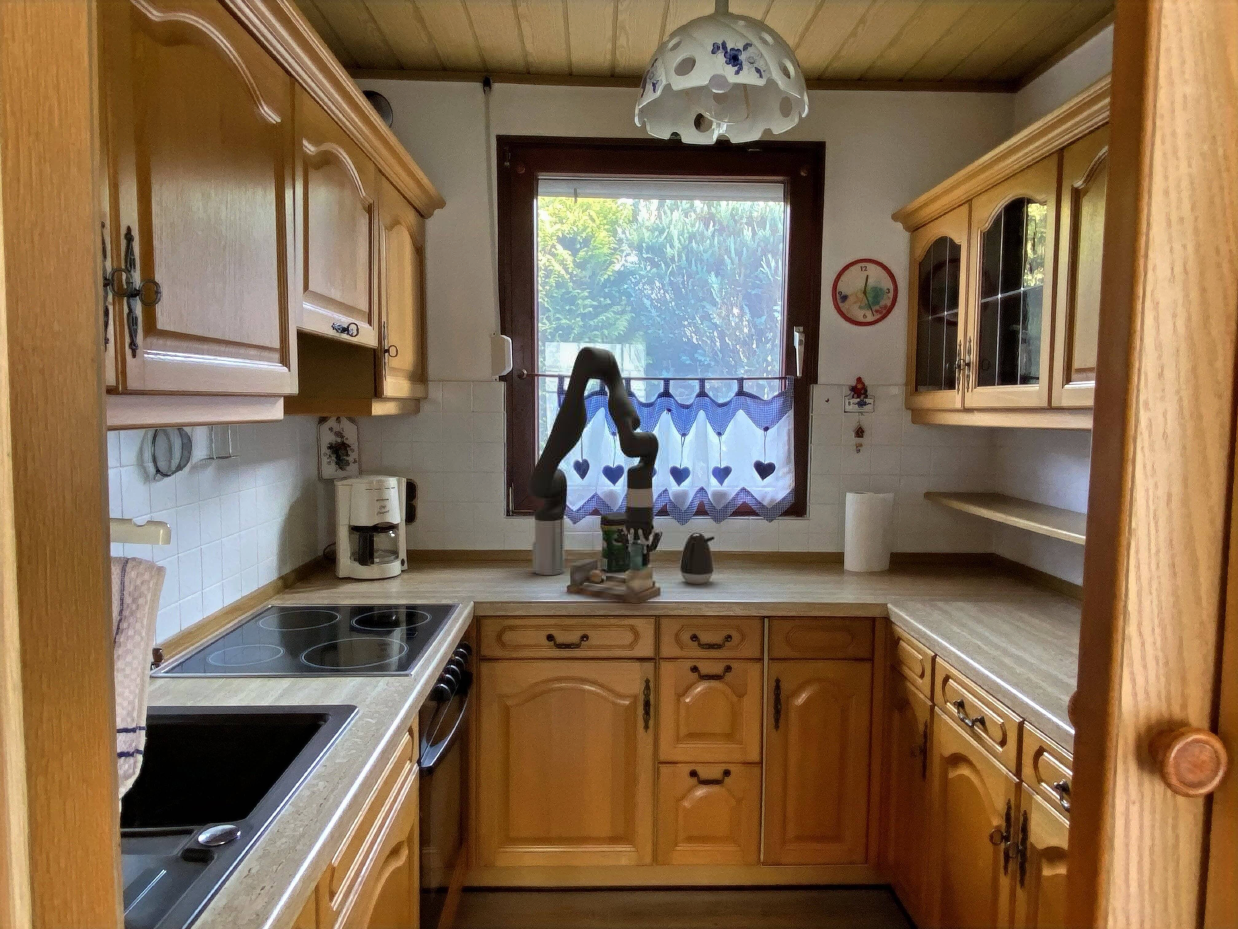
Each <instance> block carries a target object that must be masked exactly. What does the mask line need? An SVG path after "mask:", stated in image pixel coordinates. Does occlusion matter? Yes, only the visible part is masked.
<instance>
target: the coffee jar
mask: <svg viewBox="0 0 1238 929" xmlns="http://www.w3.org/2000/svg"><path fill="white" fill-rule="evenodd" d="M626 523H627V520H626V512H610V513H603V514H600V524H599V527H600V529H601V534H602V536H601V537H602V540H601V541H602V543H601V553H600V569H601V570H602V571H603V572H610V573H611V572H613V573H616V572H617V573H619V572H626V571H628V570H630V561H629V550H627V549H624V548H623V546H622V543H621V540H620V538H619V535H618V532H617V529H619V528H623V527H625V525H626ZM627 536H628V537H629V534H628V532H627Z"/></svg>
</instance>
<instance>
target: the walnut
mask: <svg viewBox="0 0 1238 929" xmlns="http://www.w3.org/2000/svg"><path fill="white" fill-rule="evenodd" d="M602 578H603V574H602V573H601V571H600V570H599V569H598V570H593V571H591V572H590V573H589V575H588V579H589V581H593V582H595V584H597V583H599V582H600V581H601V580H602Z"/></svg>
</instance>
